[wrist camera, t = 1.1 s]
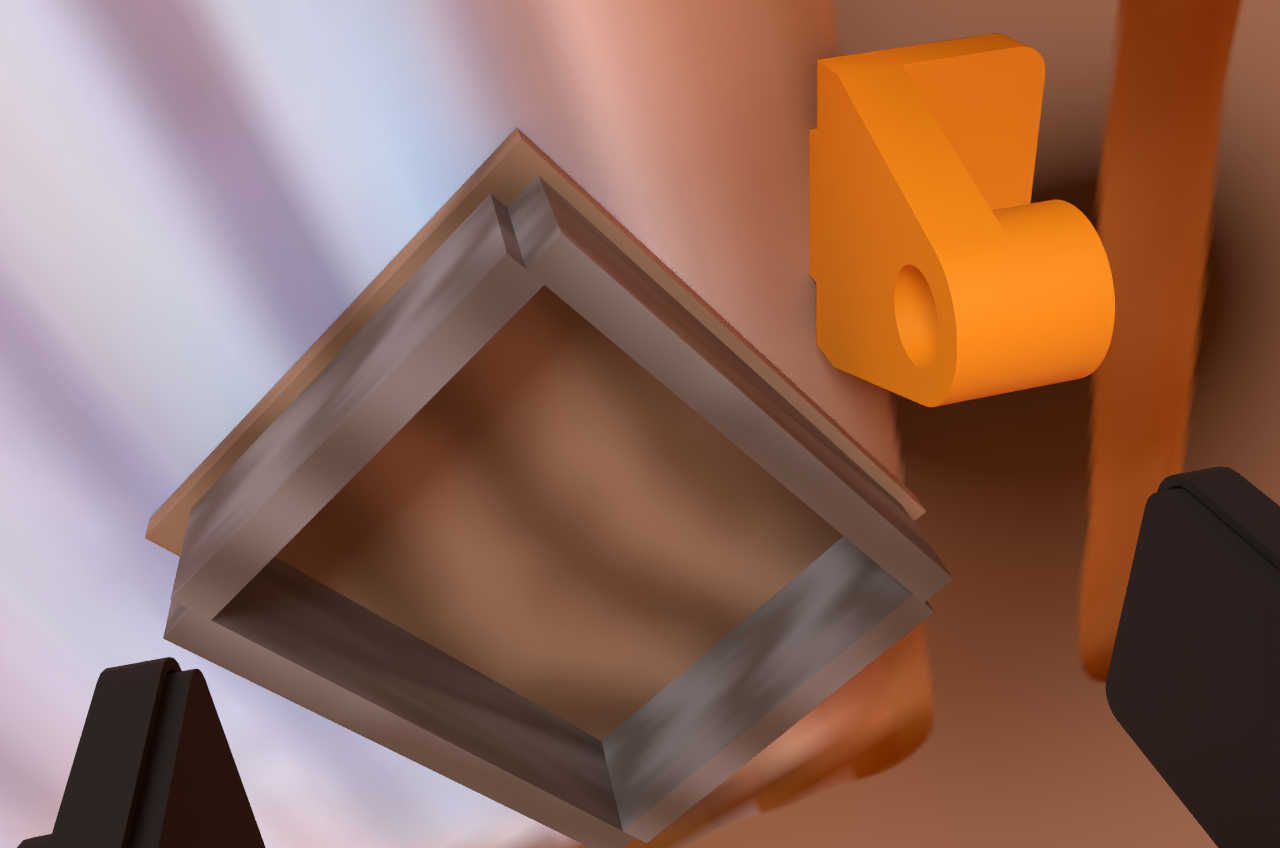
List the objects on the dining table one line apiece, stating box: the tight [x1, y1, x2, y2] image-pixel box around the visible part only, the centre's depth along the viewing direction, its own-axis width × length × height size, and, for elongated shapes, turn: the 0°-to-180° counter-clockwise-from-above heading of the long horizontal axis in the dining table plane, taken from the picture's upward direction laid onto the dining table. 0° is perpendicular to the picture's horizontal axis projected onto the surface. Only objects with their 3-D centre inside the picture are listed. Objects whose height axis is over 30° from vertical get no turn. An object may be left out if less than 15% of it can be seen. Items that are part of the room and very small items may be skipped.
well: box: [145, 128, 953, 848], centre depth 42 cm, size 20×24×6 cm
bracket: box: [809, 33, 1115, 407], centre depth 35 cm, size 11×7×12 cm, turn 5°
